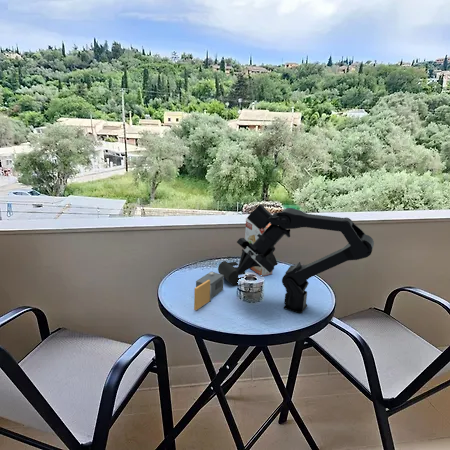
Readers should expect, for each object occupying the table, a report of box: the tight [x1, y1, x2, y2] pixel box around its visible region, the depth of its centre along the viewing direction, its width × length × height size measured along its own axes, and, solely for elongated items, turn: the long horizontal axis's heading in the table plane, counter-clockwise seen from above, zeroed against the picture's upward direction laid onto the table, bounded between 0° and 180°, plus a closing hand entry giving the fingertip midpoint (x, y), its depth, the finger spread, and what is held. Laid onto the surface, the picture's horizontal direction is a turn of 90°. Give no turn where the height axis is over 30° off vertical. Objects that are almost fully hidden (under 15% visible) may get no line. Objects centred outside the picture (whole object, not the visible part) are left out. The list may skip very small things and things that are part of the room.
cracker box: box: [243, 217, 275, 277], centre depth 174 cm, size 14×6×21 cm, turn 28°
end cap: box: [217, 260, 246, 287], centre depth 165 cm, size 10×7×7 cm
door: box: [193, 280, 212, 311], centre depth 145 cm, size 9×1×8 cm, turn 148°
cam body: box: [195, 271, 225, 299], centre depth 154 cm, size 6×10×7 cm, turn 150°
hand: (237, 273), depth 143 cm, fingers closed
